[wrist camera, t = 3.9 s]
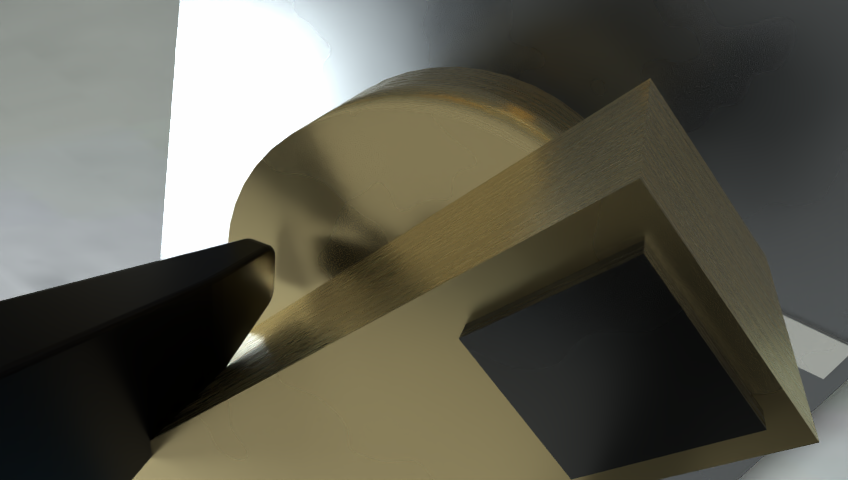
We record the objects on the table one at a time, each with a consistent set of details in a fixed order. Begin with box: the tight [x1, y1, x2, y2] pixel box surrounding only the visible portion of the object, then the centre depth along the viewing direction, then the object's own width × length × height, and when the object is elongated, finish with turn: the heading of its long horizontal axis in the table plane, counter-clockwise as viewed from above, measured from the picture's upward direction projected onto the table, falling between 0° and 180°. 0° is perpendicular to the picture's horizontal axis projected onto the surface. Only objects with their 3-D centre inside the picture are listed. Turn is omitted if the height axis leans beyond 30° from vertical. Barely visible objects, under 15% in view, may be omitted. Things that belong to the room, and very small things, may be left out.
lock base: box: [161, 0, 848, 480], centre depth 13 cm, size 16×16×4 cm
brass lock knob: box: [132, 67, 819, 480], centre depth 9 cm, size 9×6×5 cm
